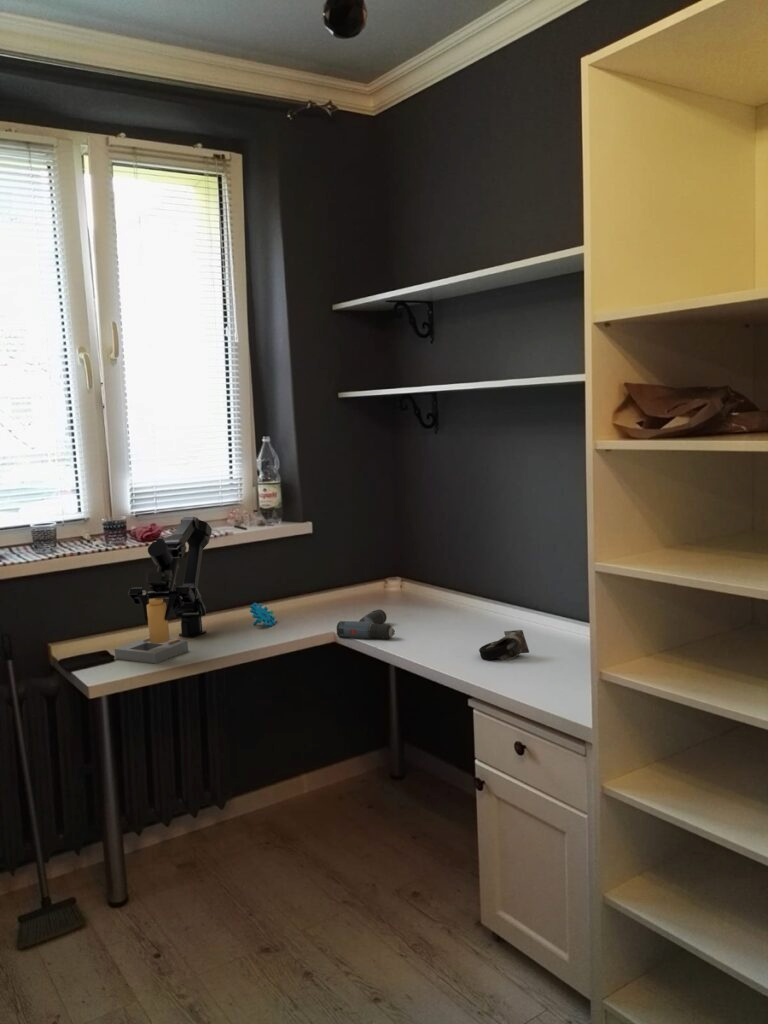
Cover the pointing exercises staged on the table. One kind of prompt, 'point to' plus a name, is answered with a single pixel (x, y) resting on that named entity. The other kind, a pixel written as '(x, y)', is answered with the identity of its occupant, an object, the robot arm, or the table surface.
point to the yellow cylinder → (157, 621)
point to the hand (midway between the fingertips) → (155, 620)
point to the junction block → (151, 650)
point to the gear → (262, 614)
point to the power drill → (366, 627)
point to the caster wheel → (505, 646)
